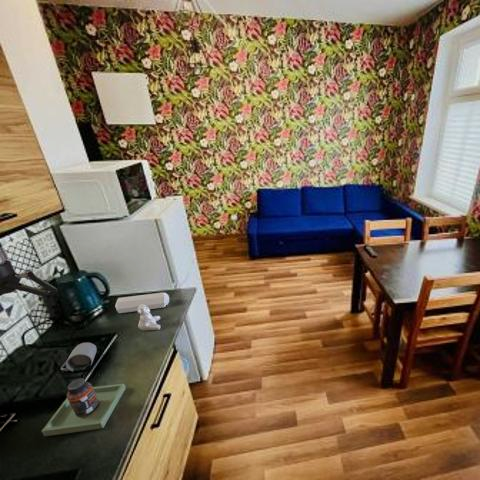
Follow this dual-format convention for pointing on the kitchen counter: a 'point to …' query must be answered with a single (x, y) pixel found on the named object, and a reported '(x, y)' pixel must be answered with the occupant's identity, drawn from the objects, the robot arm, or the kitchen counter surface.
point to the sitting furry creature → (147, 319)
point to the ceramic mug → (80, 356)
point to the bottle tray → (71, 423)
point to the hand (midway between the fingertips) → (22, 327)
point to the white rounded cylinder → (142, 302)
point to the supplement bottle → (82, 398)
